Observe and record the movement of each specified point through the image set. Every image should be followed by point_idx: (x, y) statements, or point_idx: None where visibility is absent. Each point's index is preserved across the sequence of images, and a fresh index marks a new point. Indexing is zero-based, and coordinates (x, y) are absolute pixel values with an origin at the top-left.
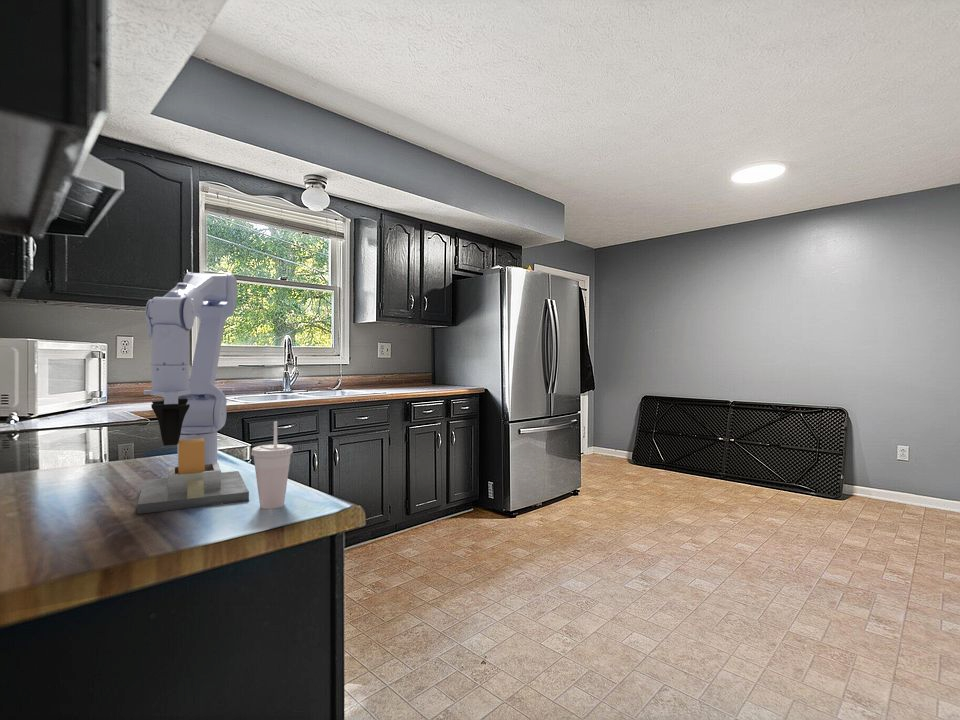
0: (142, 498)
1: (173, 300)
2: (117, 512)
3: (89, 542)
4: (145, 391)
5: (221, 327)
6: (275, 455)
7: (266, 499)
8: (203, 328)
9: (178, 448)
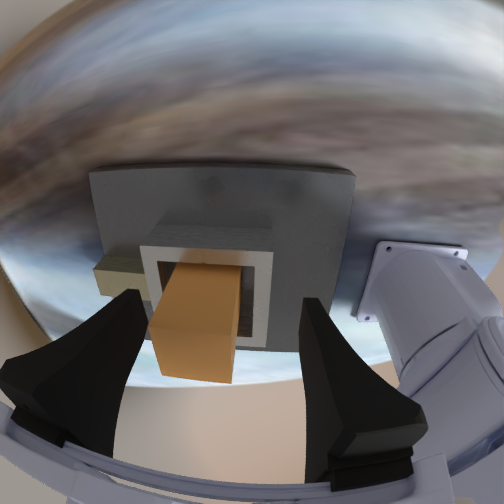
0: (132, 176)
1: None
2: (125, 127)
3: (5, 132)
4: (70, 492)
5: None
6: None
7: None
8: None
9: (154, 314)
